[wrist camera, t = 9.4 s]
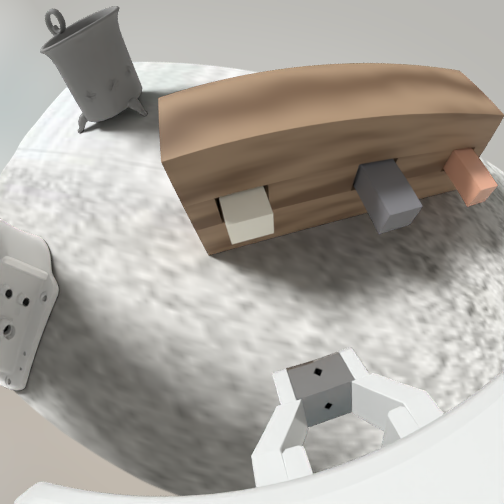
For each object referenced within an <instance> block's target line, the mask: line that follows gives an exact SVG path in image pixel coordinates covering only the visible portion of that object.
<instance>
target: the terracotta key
mask: <svg viewBox="0 0 504 504" xmlns="http://www.w3.org/2000/svg"><path fill="white" fill-rule="evenodd" d="M443 169H444V171H445V172H446V174H447V175H448V177H449V178H450V180H451V181H452V183H453V184H454V186H455V187H456V189H457V190H458V192H459V194H460V195H461V197H462V199H463V200H464V202H465V204H466V205H467V207H468V206H471V205H474V204H478V203H481V202H484V201H485V200H486V199H487V198H488V197H489V196H490V194H491V193H492V192H493V191H494V190H495V188H496V187H497V186H498V185H497V184H496V182H495V180H494V179H493V177H492V176H491V174H490V173H489V171H488V170H487V168H486V167H485V166H484V164H483V163H482V161H481V160H480V159H479V157H478V156H477V154H476V153H475V152H474V150H473V149H472V148H463V149H455V150H453V152H452V153H451V155H450V157H449V159H448V160H447V162H446V164H445V165H444V167H443Z"/></svg>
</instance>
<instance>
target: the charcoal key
mask: <svg viewBox="0 0 504 504" xmlns="http://www.w3.org/2000/svg"><path fill="white" fill-rule="evenodd" d="M353 186H354V188H355V189H356V191H357V193H358V195H359V197H360V199H361V201H362V202H363V204H364V206H365V208H366V210H367V212H368V214H369V216H370V218H371V220H372V222H373V224H374V226H375V228H376V230H377V232H378V234H381V233H384V232H387V231H391V230H394V229H397V228H401V227H404V226H407V225H410V224H411V222H412V221H413V220H414V218H415V217H416V215H417V214H418V213H419V211H420V210H421V208H422V207H423V206H422V204H421V202H420V201H419V199H418V197H417V196H416V194H415V192H414V191H413V189H412V187H411V186H410V184H409V182H408V181H407V179H406V178H405V176H404V175H403V173H402V172H401V170H400V168H399V167H398V165H397V164H396V162H395V161H394V160H393V159H387V160H381V161H375V162H370V163H364V164H359V166H358V170H357V173H356V176H355V179H354V182H353Z"/></svg>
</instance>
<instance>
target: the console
mask: <svg viewBox="0 0 504 504" xmlns="http://www.w3.org/2000/svg"><path fill="white" fill-rule="evenodd" d="M158 109H159V134H160V151H161V163H162V165H163V167H164V169H165V171H166V173H167V175H168V177H169V179H170V181H171V183H172V185H173V187H174V189H175V191H176V193H177V195H178V197H179V199H180V201H181V203H182V205H183V207H184V209H185V211H186V213H187V215H188V217H189V219H190V221H191V223H192V225H193V227H194V229H195V230H196V232H197V234H198V236H199V238H200V240H201V242H202V244H203V246H204V248H205V250H206V251H207V253H208V255H212V254H216V253H219V252H223V251H226V250H230V249H234V248H237V247H241V246H245V245H248V244H252V243H256V242H259V241H263V240H267V239H270V238H274V237H278V236H282V235H285V234H289V233H293V232H296V231H300V230H304V229H308V228H311V227H315V226H319V225H323V224H326V223H330V222H334V221H338V220H341V219H345V218H349V217H353V216H357V215H360V214H364V213H368V212H367V210H366V208H365V206H364V204H363V202H362V201H361V199H360V197H359V195H358V193H357V191H356V189H355V188H354V186H353V182H354V179H355V176H356V173H357V170H358V166H359V164H364V163H370V162H375V161H381V160H387V159H393V160H394V161H395V162H396V164H397V165H398V167H399V168H400V170H401V172H402V173H403V175H404V176H405V178H406V179H407V181H408V182H409V184H410V186H411V187H412V189H413V191H414V192H415V194H416V196H417V197H418V199H422V198H426V197H430V196H433V195H437V194H441V193H445V192H449V191H453V190H457V189H456V187H455V186H454V184H453V183H452V181H451V180H450V178H449V177H448V175H447V174H446V172H445V171H444V169H443V167H444V165H445V164H446V162H447V160H448V159H449V157H450V155H451V153H452V152H453V150H455V149H463V148H472V149H473V150H474V152H475V153H476V154H477V156H478V157H480V155H481V154H482V152H483V151H484V149H485V147H486V146H487V144H488V142H489V141H490V139H491V138H492V136H493V134H494V133H495V131H496V129H497V128H498V126H499V124H500V122H501V121H502V119H503V117H504V114H503V113H502V112H501V111H500V110H499V109H498V108H497V106H496V105H495V104H494V103H493V102H492V101H491V100H490V99H489V98H488V97H487V96H486V95H485V94H484V93H483V92H482V91H481V90H480V89H479V88H478V87H477V86H476V85H475V84H474V83H473V82H472V81H470V80H469V79H468V78H467V77H466V76H465V75H464V74H463V73H461V72H460V71H458V70H452V69H445V68H437V67H429V66H419V65H406V64H385V63H383V64H382V63H349V64H328V65H314V66H303V67H294V68H286V69H278V70H272V71H266V72H259V73H253V74H248V75H243V76H238V77H233V78H228V79H224V80H219V81H215V82H211V83H207V84H203V85H199V86H196V87H192V88H188V89H185V90H182V91H178V92H175V93H172V94H169V95H165V96H162V97H159V98H158ZM260 186H263V187H264V189H265V192H266V195H267V198H268V200H269V203H270V206H271V209H272V211H273V221H274V233H273V234H269V235H265V236H262V237H258V238H254V239H251V240H247V241H243V242H240V243H236V244H232V243H231V240H230V237H229V234H228V231H227V228H226V224H225V220H224V216H223V212H222V208H221V204H220V200H219V197H222V196H225V195H229V194H233V193H236V192H240V191H244V190H248V189H252V188H256V187H260Z"/></svg>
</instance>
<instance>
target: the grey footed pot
mask: <svg viewBox="0 0 504 504" xmlns="http://www.w3.org/2000/svg"><path fill="white" fill-rule="evenodd" d="M118 11H119V7H118V6H112V7H109V8H105V9H103V10H100V11H98V12H95V13H93V14H91V15H89V16H87V17H85V18H83V19H81V20H79V21H77V22H75V23H74V24H72V25H70V26H69V27H67V28H66V27H65V26H66V25H65V20H64V18H63V16H62V14H61V13H60V12H59V11H58V10H56V9H50V10H49V11H47V13H46V15H45V21H46V25H47V27H48V29H49V30H50V32H51V33H52V34H53V35H54V37H53V38H51V39H50V40H49V41H48V42H47V43H45V44H44V46H43V47H42V48H41V50H40V52H41V53H43V54H45V55H47V56H48V57H49V58H50V59H51V60H52V61H53V63H54V64H55V65H56V67H57V69H58V70H59V72H60V74H61V76H62V78H63V79H64V81H65V83H66V85H67V87H68V88H69V90H70V92H71V94H72V95H73V97H74V99H75V100H76V102H77V104H78V106H79V107H80V109H81V111H82V112H83V113H82V114H81V115H80V117H79V121H78V123H79V129H78V133H81V132H82V131H83V130H84V128H85V124H86V122H87V121H90V122H99V121H103V120H106V119H109V118H111V117H113V116H115V115H117V114H119V113H120V112H122V111H124V110H125V109H127V108H128V107H129V108H130V109H133V110H135V111H137V112H138V113H139V114H141V115H143V116H146V115H147V112H146V111H145V110H144V109H143V106H142V104H141V103H140V102H139V100H137V99H138V97H139V96H140V94H141V92H142V86H141V83H140V81H139V78H138V76H137V73H136V71H135V68H134V66H133V63H132V61H131V58H130V56H129V53H128V51H127V48H126V45H125V43H124V40H123V38H122V35H121V32H120V29H119V24H118ZM50 14H54V15H55V16H56V18H57V19H58V21H59V24H60V29H59V28H58V27H57V26H56V25H55V26H53V25H52V23H51V20H50Z"/></svg>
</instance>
